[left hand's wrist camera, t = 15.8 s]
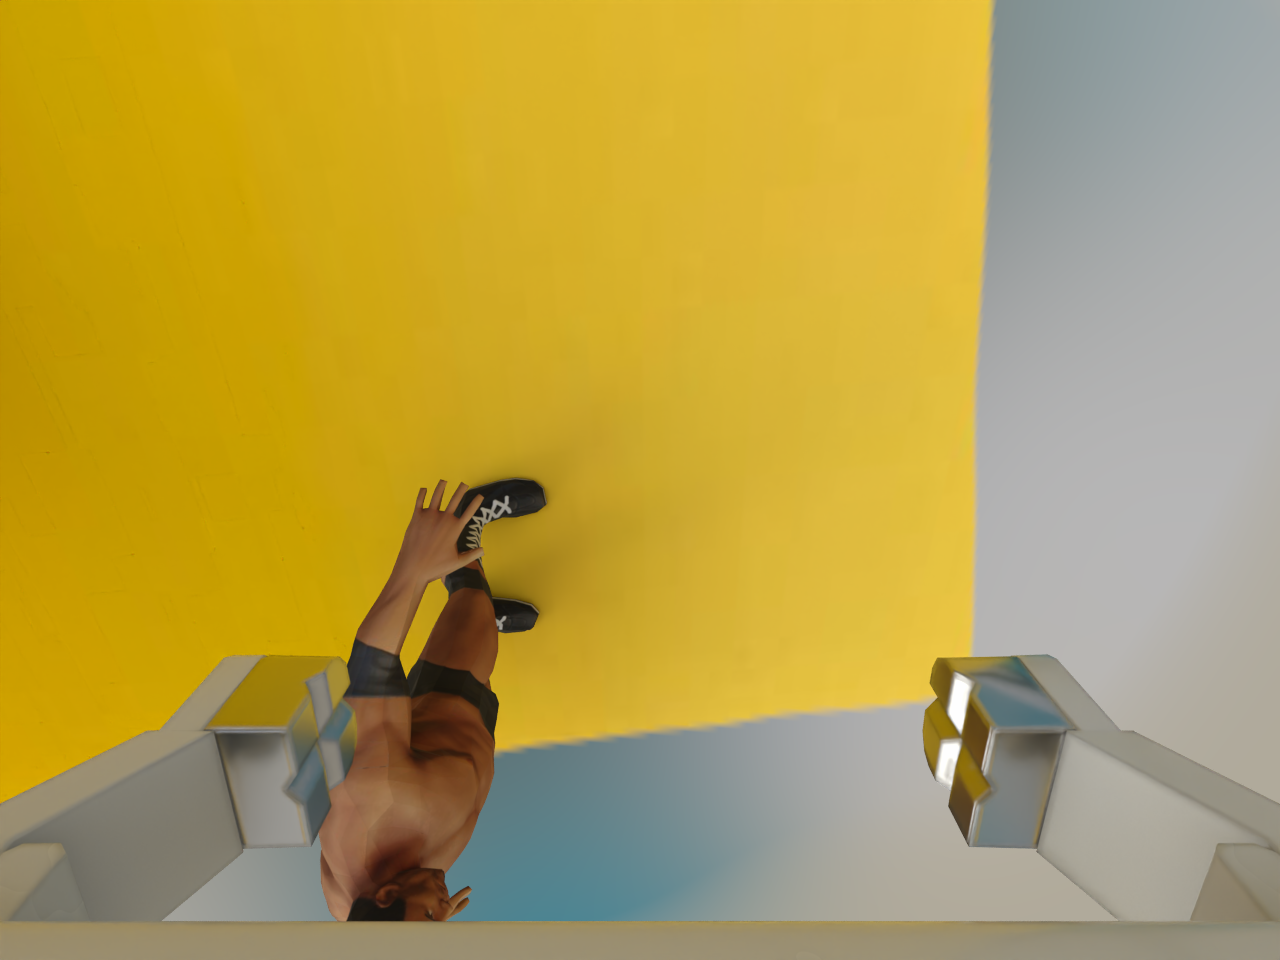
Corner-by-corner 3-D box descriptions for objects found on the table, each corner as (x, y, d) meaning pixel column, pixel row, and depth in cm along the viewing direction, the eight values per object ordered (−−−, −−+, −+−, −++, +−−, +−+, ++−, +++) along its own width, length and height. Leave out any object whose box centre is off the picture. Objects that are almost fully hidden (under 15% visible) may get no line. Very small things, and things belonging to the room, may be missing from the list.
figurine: (536, 704, 56) (436, 1212, 29) (451, 697, 56) (266, 1201, 28) (559, 387, 48) (446, 670, 20) (458, 376, 48) (200, 648, 20)
